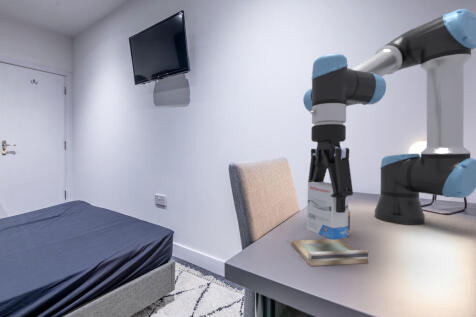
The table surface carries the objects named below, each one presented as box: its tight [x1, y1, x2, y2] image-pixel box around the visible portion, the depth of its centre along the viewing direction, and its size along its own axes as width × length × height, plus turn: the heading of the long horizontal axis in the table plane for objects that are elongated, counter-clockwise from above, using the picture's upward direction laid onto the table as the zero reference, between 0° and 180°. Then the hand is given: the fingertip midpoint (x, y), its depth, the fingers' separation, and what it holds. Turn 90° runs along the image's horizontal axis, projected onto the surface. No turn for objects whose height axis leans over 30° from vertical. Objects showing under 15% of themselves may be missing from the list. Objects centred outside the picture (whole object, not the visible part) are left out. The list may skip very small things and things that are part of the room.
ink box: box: [306, 181, 349, 240], centre depth 58 cm, size 8×5×12 cm, turn 24°
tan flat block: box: [290, 238, 369, 267], centre depth 58 cm, size 13×12×2 cm
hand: (326, 220), depth 58 cm, fingers closed on ink box, 9 cm apart
